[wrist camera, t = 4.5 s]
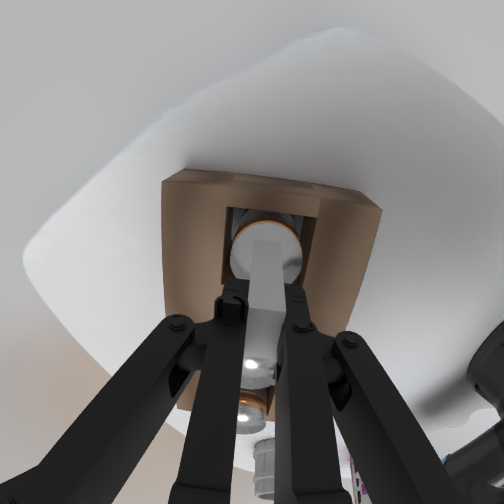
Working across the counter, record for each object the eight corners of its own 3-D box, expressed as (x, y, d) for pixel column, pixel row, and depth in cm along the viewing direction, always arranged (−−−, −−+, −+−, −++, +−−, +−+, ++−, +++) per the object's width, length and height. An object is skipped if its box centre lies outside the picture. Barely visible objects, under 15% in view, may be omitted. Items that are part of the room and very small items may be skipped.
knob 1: (300, 207, 21) (309, 231, 16) (291, 261, 23) (295, 296, 18) (240, 199, 21) (232, 222, 16) (235, 254, 23) (226, 288, 18)
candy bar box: (348, 443, 39) (359, 523, 24) (376, 436, 38) (391, 515, 23) (348, 463, 43) (355, 529, 28) (371, 457, 42) (382, 523, 28)
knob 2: (284, 309, 23) (287, 353, 18) (276, 348, 25) (276, 391, 20) (229, 303, 23) (220, 346, 18) (226, 343, 25) (218, 385, 20)
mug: (263, 434, 37) (260, 502, 26) (329, 442, 38) (335, 503, 27) (247, 451, 40) (242, 509, 29) (307, 458, 41) (310, 513, 31)
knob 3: (270, 373, 26) (269, 414, 22) (263, 398, 28) (262, 436, 24) (224, 368, 26) (217, 408, 22) (222, 393, 28) (216, 431, 24)
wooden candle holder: (359, 191, 21) (382, 210, 17) (301, 389, 32) (303, 422, 27) (183, 168, 21) (161, 181, 17) (186, 376, 32) (177, 408, 27)
